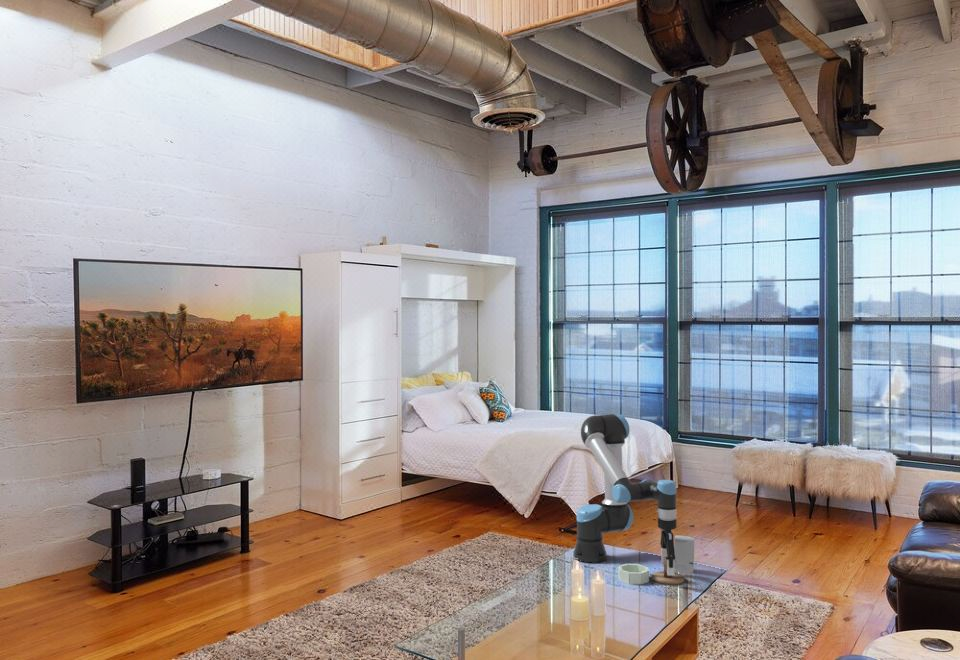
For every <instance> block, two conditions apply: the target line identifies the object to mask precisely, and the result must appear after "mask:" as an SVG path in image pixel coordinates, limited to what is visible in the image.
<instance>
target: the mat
mask: <svg viewBox="0 0 960 660" xmlns="http://www.w3.org/2000/svg"><path fill="white" fill-rule="evenodd" d="M652 574H653V573H649V577H650V578H651V581H652V582H653V585H654V586H665V585H664V584H659V583H656V582H654V581H653V580H652ZM678 586H682V587H683V586H684V587H685V586H688V583H687V582H686V581H685V580H684V582H683V583H682V584H679V585H678Z"/></svg>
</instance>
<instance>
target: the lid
mask: <svg viewBox="0 0 960 660" xmlns="http://www.w3.org/2000/svg"><path fill="white" fill-rule="evenodd" d="M666 557H667V556H664V564H663V571H662V570H661V571H656V572H653V573H651V574H652V578H651V581H652V580H653V581H654V582H656V583H659V584H664V585H663V586H680V585H679V584H682V583H683V582H684V581H685V577H684V575H682V574H681V573H679V572H674V575H667V560H666ZM653 581H652V582H653Z"/></svg>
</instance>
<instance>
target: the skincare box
mask: <svg viewBox="0 0 960 660" xmlns="http://www.w3.org/2000/svg"><path fill="white" fill-rule="evenodd" d="M673 540H674V551H675V559H674V572H675V573H686V574H694V569H695V567H694V566H695V537H694V536H687V535H678V534H676V535H674V539H673Z"/></svg>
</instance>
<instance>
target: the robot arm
mask: <svg viewBox="0 0 960 660" xmlns="http://www.w3.org/2000/svg"><path fill="white" fill-rule="evenodd" d="M629 425H630V424H629V422H628V420H627V419H626V417H625V416H624V415H622V414H620V413H619V414H617V413H616V414H615V413H611V414H597V415H595V414H594V415H590V416H588V417H587V418H585V420H584V421H583V422H582V424H581V428H580V435H581V436H580V437H581V441H582V443H583V444H584V446H585V447H586V448H587V449H589V450H590V451H591V453H592V455H593V457H594V458H595V460H596V462H597V463H598V465H599V466H600V468H601V470H602V471H603V478H604V479H603V480H604V484H603V485H604V499H603V500H602V501H601V504H597V503H596V504H595V503H593V504H585V505H581V506H580V507H579V508H578V509H577V511H576V542H575V546H574V549H573V556H574V557H575V558H578V559H579V560H581V561H584V562H583V563H587V562H592V563H591V564H593V563H594V564H595V563H596V564H597V563H602V562H605V561H606V560H607V559H608V556H607V555H608V554H607V551H606V550H607V549H606V547H605V545H604V542H603V541H604V537H603V534H609V533H615V532H616V533H617V532H623V531H626V530H628V529H630V527H631V526H633V525H632V524H633V522H634V512H633V511H632V508H631V506H630V505H629V504H628V503H631V502H632V503H633V502H642V501H648V500H649V501H650V500H653V501H656V502H657V510H656V511H655V512H656V513H657V517H658V518H657V527H658V528H659V529H661V533H660V543H659V544H660V548H661V550H660V551H661V552H660V554H661V555H660V556H661V565H664V556H667V557H666V560H667V575H674V559H675V551H674V540H675V539H674V537H675V535H674V533H673V531H672V530H675V529H676V528H677V527H678V526H677V525H678V523H677V518H678V517H677V514H678V513H677V511H678V510H677V486H676V485H677V484H676V482H675V481H674V480H672V479H670V480H669V479H659V480H658V481H655V480H652V479H642V480H641V481H640V482H631V480H630V479H629V477H628V476H627V474H626V472H625V471H624V468H623V450H622V449H623V447H624V445H626V444H625V443H626V442H625V441H626V440H625V439H627V438H628V437H629V436H630V432H631V431H630V426H629ZM574 557H573V558H574ZM581 561H580V562H581Z"/></svg>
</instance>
